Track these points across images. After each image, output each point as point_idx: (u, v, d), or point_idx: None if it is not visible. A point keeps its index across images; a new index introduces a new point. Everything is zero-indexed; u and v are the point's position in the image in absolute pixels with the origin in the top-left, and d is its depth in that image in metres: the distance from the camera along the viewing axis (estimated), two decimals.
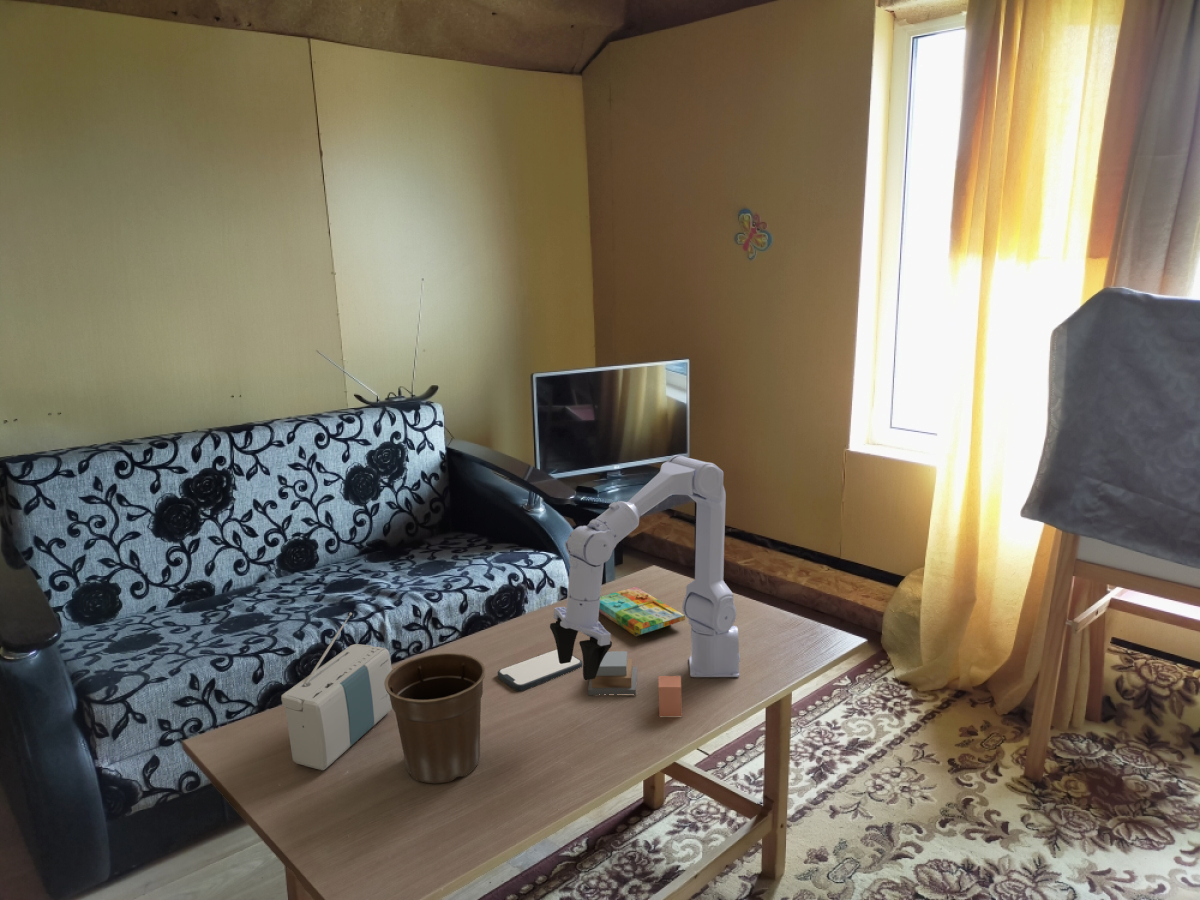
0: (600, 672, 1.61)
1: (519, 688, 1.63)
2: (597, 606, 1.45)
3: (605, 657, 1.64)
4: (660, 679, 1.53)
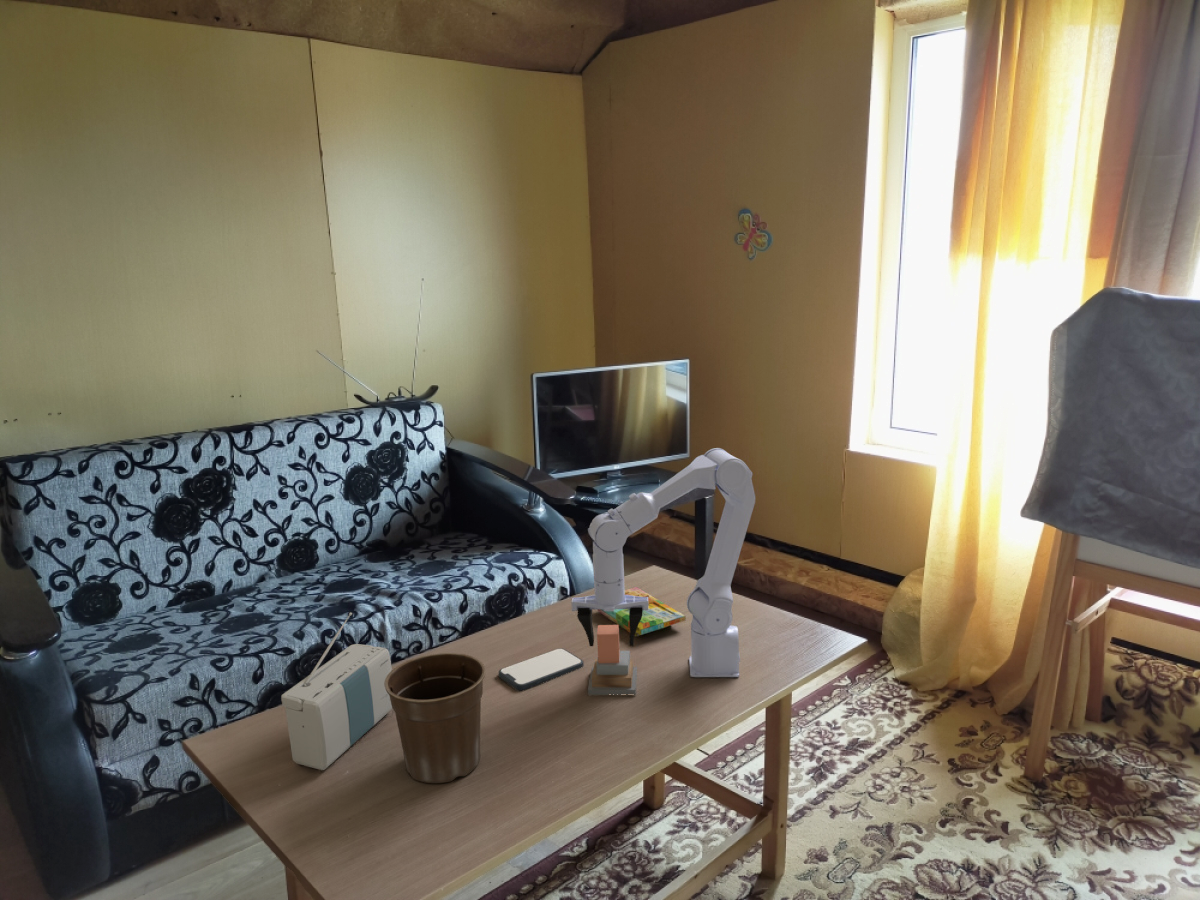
0: (601, 671, 1.61)
1: (520, 687, 1.63)
2: None
3: None
4: (599, 628, 1.63)
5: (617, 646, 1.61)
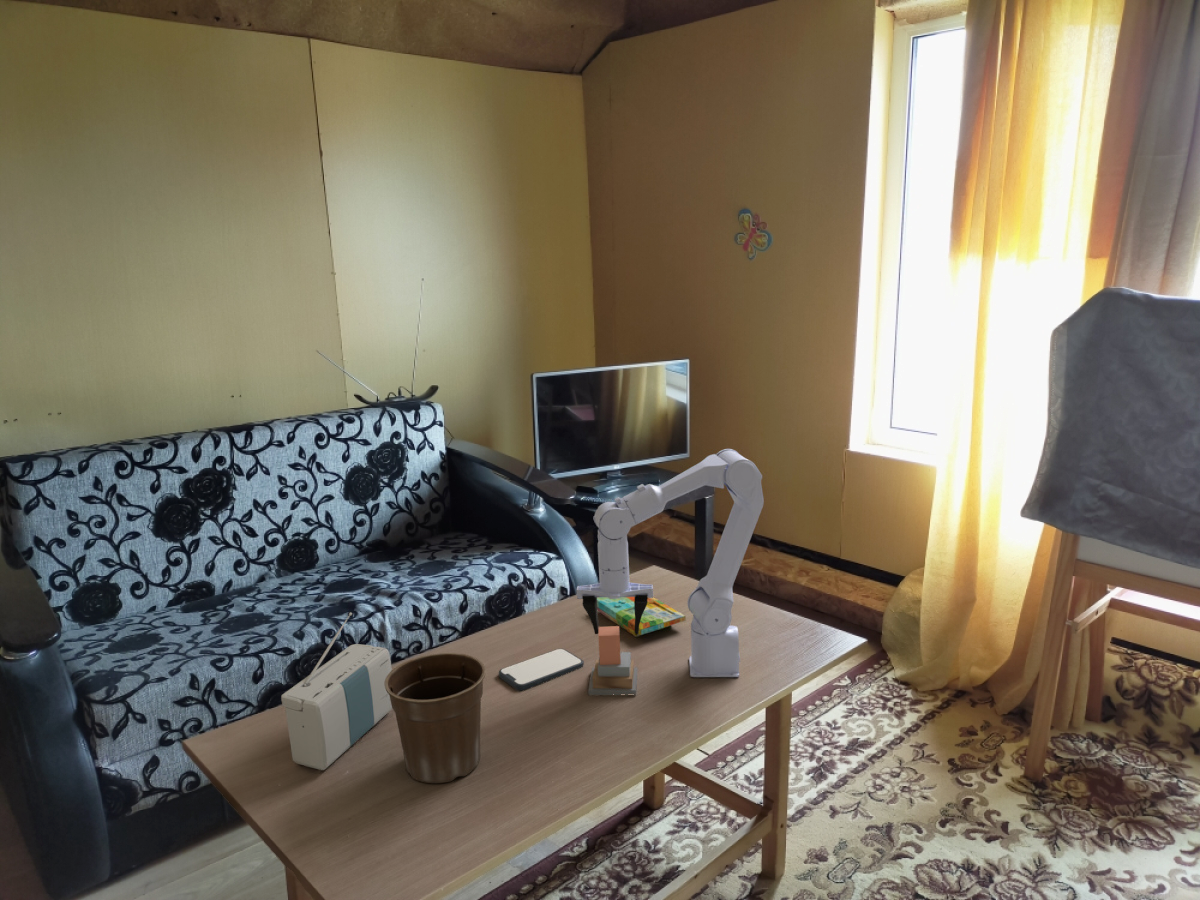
0: (603, 673, 1.61)
1: (520, 687, 1.63)
2: None
3: None
4: (600, 629, 1.62)
5: (618, 647, 1.60)
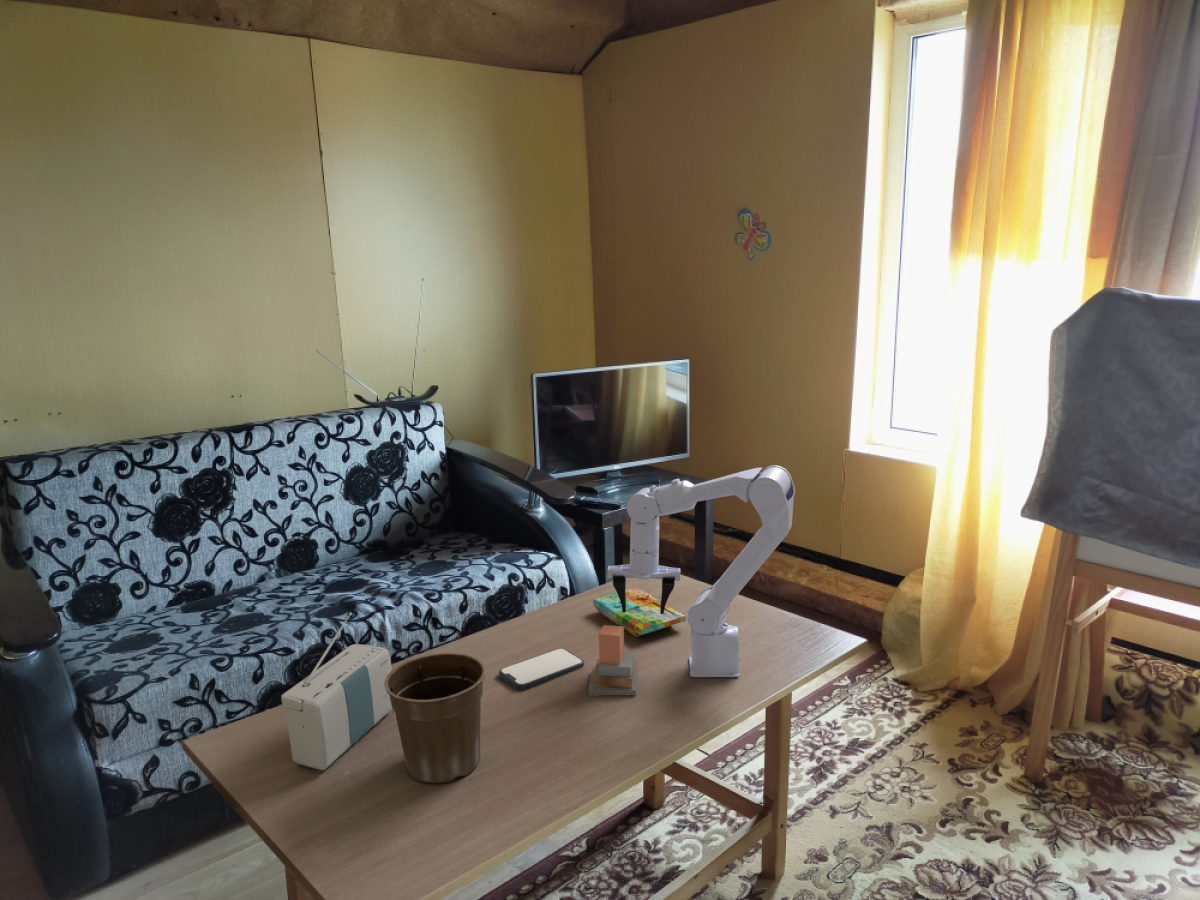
0: (604, 672, 1.61)
1: (520, 687, 1.63)
2: None
3: None
4: (603, 628, 1.63)
5: (618, 648, 1.60)
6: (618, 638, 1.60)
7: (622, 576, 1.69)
